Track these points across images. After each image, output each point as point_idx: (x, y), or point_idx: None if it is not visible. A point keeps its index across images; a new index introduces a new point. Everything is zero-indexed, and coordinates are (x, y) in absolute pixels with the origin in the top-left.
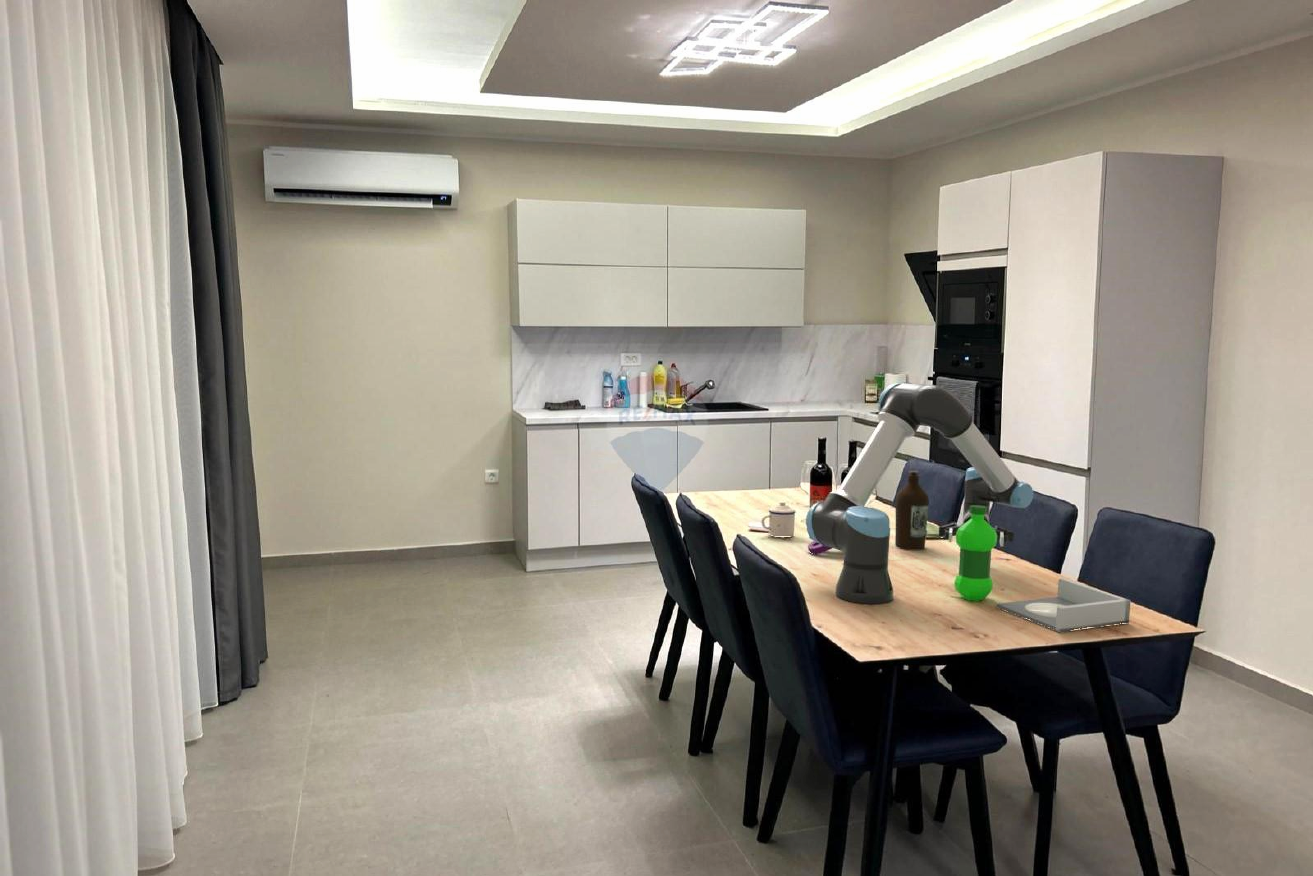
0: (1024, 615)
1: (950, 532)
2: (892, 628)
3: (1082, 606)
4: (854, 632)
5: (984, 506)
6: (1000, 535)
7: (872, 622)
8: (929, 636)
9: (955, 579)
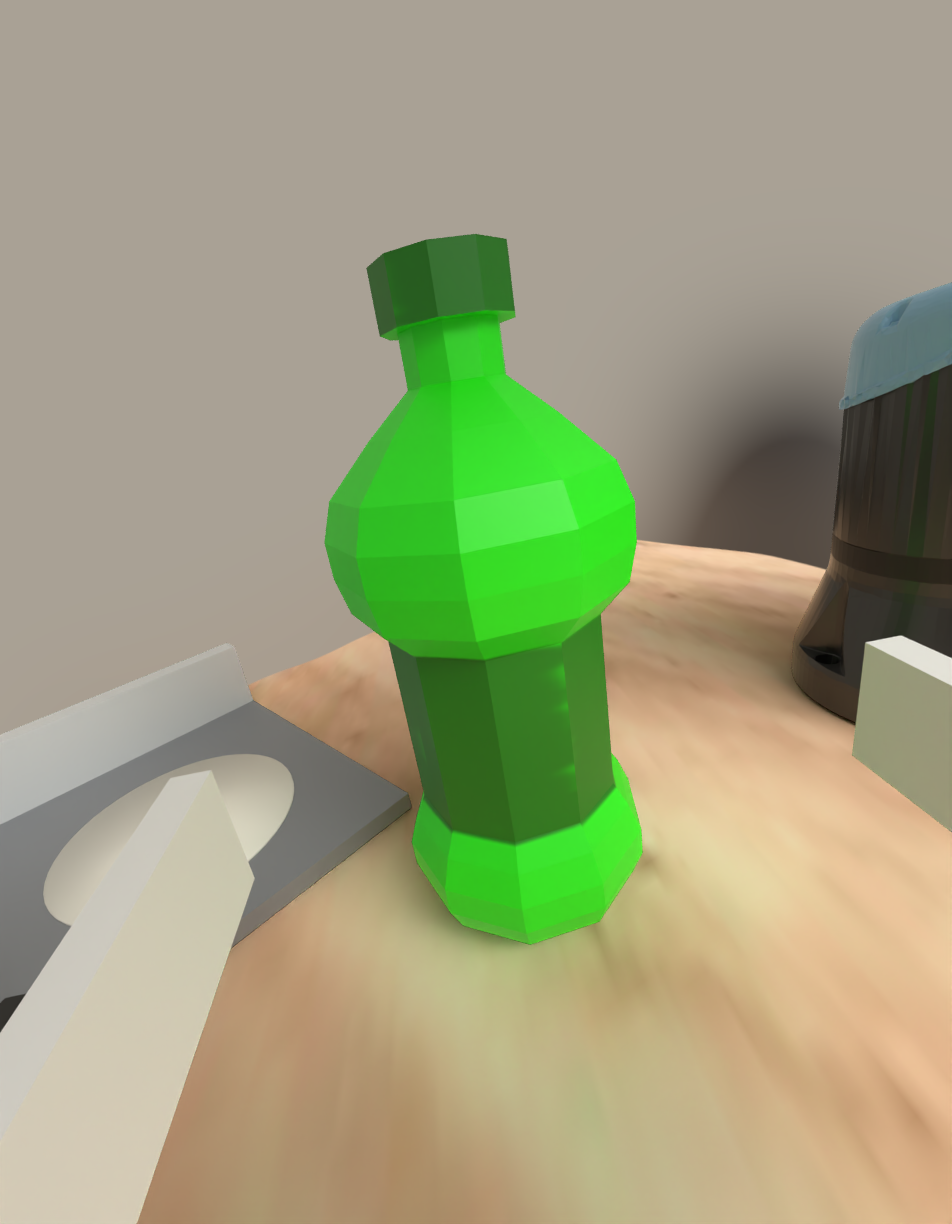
0: (317, 740)
1: (901, 646)
2: (632, 588)
3: (142, 677)
4: (679, 559)
5: (384, 259)
6: (99, 1026)
7: (691, 588)
8: None
9: (623, 771)
